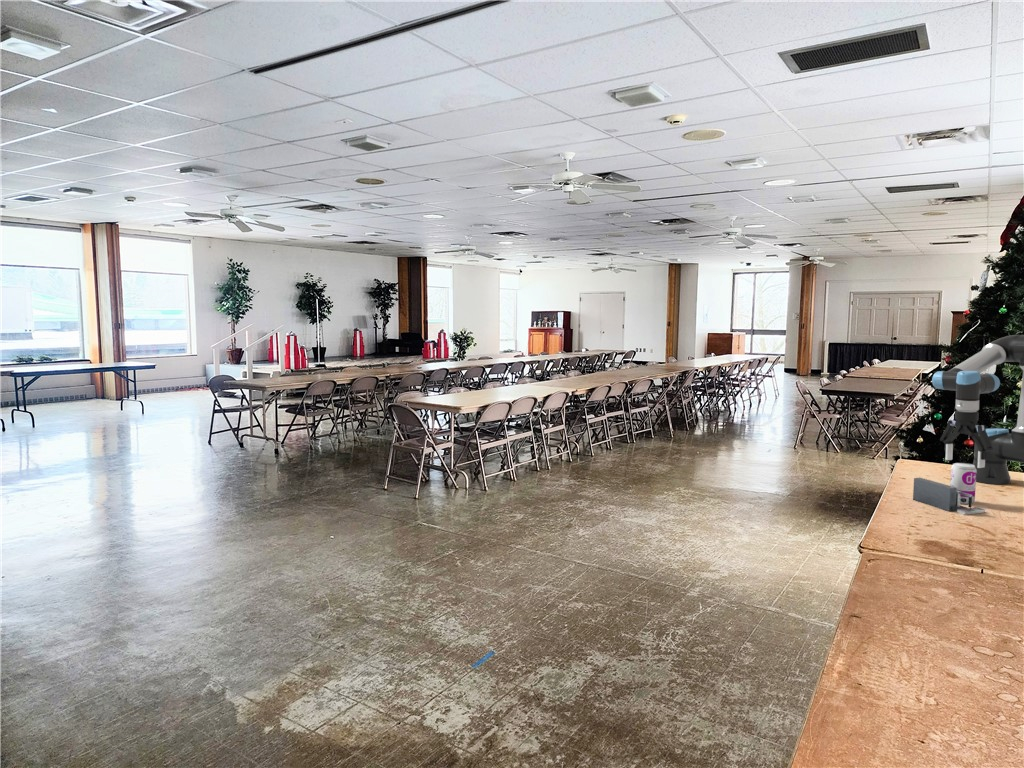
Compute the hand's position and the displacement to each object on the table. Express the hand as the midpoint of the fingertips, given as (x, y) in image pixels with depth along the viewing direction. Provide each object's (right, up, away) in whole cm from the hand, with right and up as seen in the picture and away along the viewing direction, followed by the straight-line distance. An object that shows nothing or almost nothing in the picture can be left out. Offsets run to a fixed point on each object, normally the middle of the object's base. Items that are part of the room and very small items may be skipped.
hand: (964, 463), depth 253 cm
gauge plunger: (-9, -15, -4) cm, 18 cm away
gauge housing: (-9, -16, -3) cm, 19 cm away
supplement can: (0, -16, +2) cm, 16 cm away
